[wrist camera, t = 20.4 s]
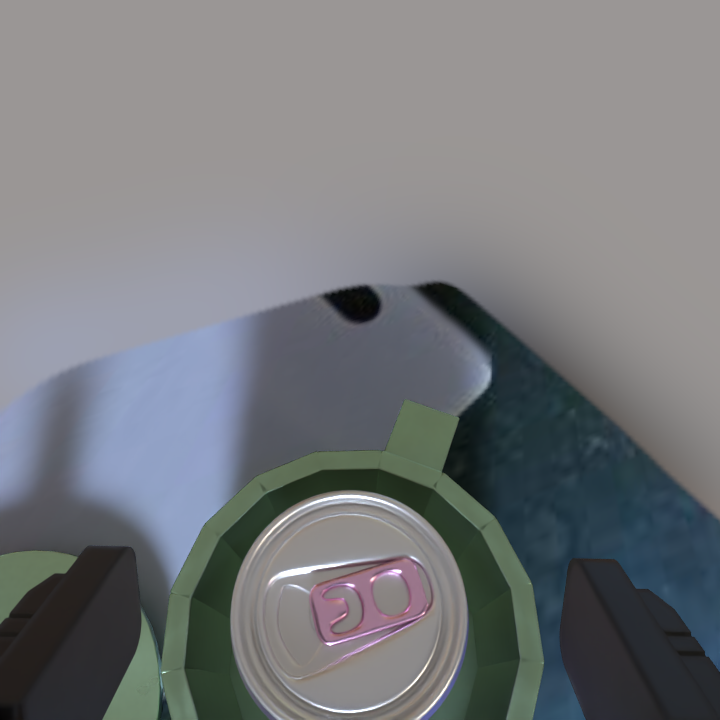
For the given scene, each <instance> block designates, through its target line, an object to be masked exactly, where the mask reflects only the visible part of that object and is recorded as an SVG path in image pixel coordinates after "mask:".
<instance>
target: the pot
mask: <svg viewBox="0 0 720 720" xmlns="http://www.w3.org/2000/svg"><path fill="white" fill-rule="evenodd" d="M458 422H459V418H458V417H456V416H453V415H450V414H447V413H444V412H441V411H438V410H435V409H433V408H430V407H427V406H424V405H421V404H418V403H415V402H412V401H410V400H407V399H405V400H404V402H403V404H402V407H401V409H400V412H399V414H398V417H397V420H396V422H395V425H394V427H393V430H392V433H391V435H390V438H389V440H388V443H387V445H386V448H385V451H381V450H354V451H319V452H317V451H316V452H313V453H311V454H308V455H306V456H303V457H301V458H299V459H296V460H294V461H291V462H289V463H287V464H284V465H282V466H279V467H277V468H274V469H272V470H270V471H267V472H265V473H262V474H260V475H257V476H256V477H254V478H253V479H252V480H251V481H250V482H249V483H248V484H247V485H246V486H245V487H244V488H243V489H241V490H240V491H239V492H238V493H237V494H236V495H235V496H234V497H233V498H232V499H231V500H230V501H229V502H228V503H226V504H225V505H224V506H223V507H222V508H221V509H220V510H219V511H218V512H217V513H216V514H215V515H214V516H213V517H212V518H210V519H209V520H208V521H207V522H206V523H205V525H204V526H203V528H202V530H201V532H200V534H199V536H198V538H197V540H196V541H195V543H194V545H193V547H192V549H191V551H190V553H189V555H188V557H187V559H186V561H185V563H184V565H183V567H182V569H181V571H180V573H179V575H178V577H177V579H176V581H175V583H174V585H173V587H172V589H171V594H170V595H169V603H168V612H167V620H166V629H165V637H164V645H163V654H162V662H161V673H162V674H161V680H162V684H163V688H164V692H165V696H166V700H167V704H168V708H169V712H170V716H171V720H270V719H269V718H268V717H267V716H266V715H265V714H264V713H263V712H262V711H261V710H260V708H259V707H258V706H257V705H256V703H255V702H254V700H253V699H252V697H251V696H250V694H249V692H248V691H247V689H246V687H245V685H244V683H243V681H242V679H241V676H240V674H239V671H238V668H237V665H236V661H235V658H234V653H233V649H232V642H231V630H230V615H231V601H232V595H233V590H234V586H235V582H236V579H237V575H238V572H239V570H240V567H241V565H242V563H243V561H244V559H245V556H246V555H247V553H248V551H249V549H250V548H251V546H252V545H253V543H254V542H255V540H256V539H257V537H258V536H259V535H260V534H261V532H262V531H263V530H264V529H265V528H266V527H267V526H268V525H269V524H270V523H271V522H272V521H273V520H274V519H275V518H276V517H278V516H279V515H280V514H281V513H283V512H284V511H286V510H287V509H288V508H290V507H292V506H294V505H295V504H297V503H299V502H301V501H303V500H305V499H308V498H310V497H313V496H316V495H319V494H323V493H327V492H333V491H341V490H359V491H367V492H373V493H377V494H381V495H384V496H387V497H390V498H392V499H395V500H397V501H399V502H401V503H403V504H405V505H406V506H408V507H410V508H411V509H413V510H414V511H416V512H417V513H418V514H420V515H421V516H422V517H423V518H424V519H426V520H427V521H428V522H429V523H430V524H431V525H432V526H433V527H434V528H435V530H436V531H437V532H438V533H439V534H440V536H441V537H442V538H443V540H444V541H445V543H446V544H447V546H448V547H449V549H450V551H451V552H452V554H453V556H454V558H455V560H456V563H457V565H458V568H459V570H460V573H461V576H462V579H463V583H464V587H465V592H466V597H467V603H468V613H469V632H468V641H467V648H466V653H465V657H464V660H463V664H462V667H461V670H460V672H459V675H458V677H457V679H456V682H455V684H454V686H453V687H452V689H451V691H450V693H449V695H448V696H447V697H446V699H445V700H444V702H443V703H442V705H441V706H440V707H439V708H438V710H437V711H436V712H435V713H434V714H433V715H432V716H431V717H430V718H429V719H428V720H532V719H533V714H534V710H535V705H536V700H537V696H538V691H539V687H540V682H541V677H542V673H543V668H544V664H543V663H544V658H543V651H542V645H541V638H540V632H539V625H538V618H537V612H536V605H535V599H534V592H533V586H532V584H531V581H530V579H529V577H528V575H527V573H526V572H525V570H524V568H523V566H522V564H521V562H520V561H519V559H518V557H517V555H516V553H515V552H514V550H513V548H512V546H511V544H510V542H509V541H508V539H507V537H506V535H505V533H504V532H503V530H502V528H501V526H500V524H499V522H498V521H497V519H495V516H493V515H492V514H491V513H490V512H489V511H488V510H486V509H485V508H484V507H483V506H482V505H481V504H480V503H478V502H477V501H476V500H475V499H474V498H473V497H471V496H470V495H469V494H468V493H467V492H466V491H465V490H463V489H462V488H461V487H460V486H459V485H458V484H456V483H455V482H454V481H453V480H452V479H451V478H450V477H448V476H447V475H446V474H445V473H442V470H443V467H444V464H445V461H446V458H447V455H448V452H449V449H450V446H451V443H452V440H453V437H454V434H455V431H456V428H457V425H458Z"/></svg>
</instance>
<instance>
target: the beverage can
mask: <svg viewBox="0 0 720 720" xmlns="http://www.w3.org/2000/svg"><path fill="white" fill-rule="evenodd" d="M230 630H231V642H232V649H233V653H234V658H235V661H236V665H237V668H238V671H239V674H240V676H241V679H242V681H243V683H244V685H245V687H246V689H247V691H248V692H249V694H250V696H251V697H252V699H253V700H254V702H255V703H256V705H257V706H258V707H259V708H260V710H261V711H262V712H263V713H264V714H265V715H266V716H267V717H268V718H269V719H270V720H428V719H429V718H430V717H431V716H432V715H433V714H434V713H435V712H436V711H437V710H438V708H439V707H440V706H441V705H442V703H443V702H444V700H445V699H446V697H447V696H448V695H449V693H450V691H451V689H452V687H453V686H454V684H455V682H456V679H457V677H458V675H459V672H460V670H461V667H462V664H463V660H464V657H465V653H466V648H467V641H468V632H469V613H468V603H467V597H466V592H465V587H464V583H463V579H462V576H461V573H460V570H459V568H458V565H457V563H456V560H455V558H454V556H453V554H452V552H451V551H450V549H449V547H448V546H447V544H446V543H445V541H444V540H443V538H442V537H441V536H440V534H439V533H438V532H437V531H436V530H435V528H434V527H433V526H432V525H431V524H430V523H429V522H428V521H427V520H426V519H424V518H423V517H422V516H421V515H420V514H418V513H417V512H416V511H414V510H413V509H411V508H410V507H408V506H406V505H405V504H403V503H401V502H399V501H397V500H395V499H392V498H390V497H387V496H384V495H381V494H377V493H373V492H367V491H359V490H341V491H333V492H327V493H323V494H319V495H316V496H313V497H310V498H308V499H305V500H303V501H301V502H299V503H297V504H295V505H294V506H292V507H290V508H288V509H287V510H286V511H284V512H283V513H281V514H280V515H279V516H278V517H276V518H275V519H274V520H273V521H272V522H271V523H270V524H269V525H268V526H267V527H266V528H265V529H264V530H263V531H262V532H261V534H260V535H259V536H258V537H257V539H256V540H255V542H254V543H253V545H252V546H251V548H250V549H249V551H248V553H247V555H246V556H245V559H244V561H243V563H242V565H241V567H240V570H239V572H238V575H237V579H236V582H235V586H234V590H233V595H232V601H231V615H230Z"/></svg>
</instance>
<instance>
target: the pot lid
mask: <svg viewBox="0 0 720 720" xmlns="http://www.w3.org/2000/svg"><path fill="white" fill-rule="evenodd" d="M77 558H78V557H77V556H74V555H71V554H66V553H61V552H56V551H41V550H32V551H21V552H13V553H8V554H4V555H0V624H1V623H2V622H3V620H4V619H5V618H8V617H9V613H10V612H11V611H12V610H13V608H14V607H15V606H16V605H17V604H18V602H19V601H20V600H21V599H22V598H23V596H24V595H25V594H26V593H27V592H28V591H29V590H31V589H32V588H34V587H35V586H37V585H38V584H40V583H41V582H42V581H44V580H45V579H47V578H48V577H50V576H51V575H53V574H54V573H66V572H67V571H68V570H69V568H70V567H71V566H72V565H73V563H74V562H75V561H76V559H77ZM140 606H141V605H140ZM141 617H142V624H141V634H140V639H139V643H138V647H137V650H136V653H135V655H134V657H133V659H132V661H131V663H130V665H129V667H128V669H127V671H126V673H125V675H124V677H123V679H122V681H121V683H120V685H119V687H118V689H117V691H116V693H115V695H114V697H113V699H112V701H111V703H110V705H109V707H108V709H107V711H106V713H105V715H104V717H103V719H102V720H160V718H161V712H162V697H163V684H162V680H161V674H162V673H161V659H160V654H159V648H158V644H157V641H156V638H155V635H154V632H153V629H152V626H151V624H150V622H149V620H148V617H147V615H146V613H145V611H144V609H143V608H142V606H141Z"/></svg>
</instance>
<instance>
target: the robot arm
mask: <svg viewBox="0 0 720 720" xmlns="http://www.w3.org/2000/svg"><path fill="white" fill-rule="evenodd" d="M141 624H142V617H141V606H140V596H139V585H138V575H137V565H136V556H135V552H134V550H133V548H132V547H129V546H88V547H86V548H85V549H84V550H83V552H82V553H81V554H80V556H79V557H78V558H77V559H76V561H75V562H74V563H73V565H72V566H71V567H70V568H69V570H68V571H67V572H66V573H54V574H53V575H51V576H50V577H48V578H47V579H45V580H44V581H42V582H41V583H40V584H38V585H37V586H35V587H34V588H32V589H31V590H29V591H28V592H27V593H26V594H25V595H24V596H23V598H22V599H21V600H20V601H19V602H18V604H17V605H16V606H15V607H14V608H13V610H12V611H11V612H10V613H9V617H8V618H5V619H4V620H3V622H2V623H1V624H0V720H102V719H103V717H104V715H105V713H106V711H107V709H108V707H109V705H110V703H111V701H112V699H113V697H114V695H115V693H116V691H117V689H118V687H119V685H120V683H121V681H122V679H123V677H124V675H125V673H126V671H127V669H128V667H129V665H130V663H131V661H132V659H133V657H134V655H135V653H136V650H137V647H138V643H139V639H140V634H141ZM560 647H561V654H562V659H563V663H564V666H565V669H566V671H567V674H568V676H569V679H570V681H571V684H572V686H573V689H574V691H575V694H576V696H577V699H578V701H579V704H580V706H581V709H582V711H583V714H584V716H585V718H586V720H720V672H719V671H718V669H717V668H716V667H715V665H714V664H713V662H712V661H711V660H710V658H709V657H706V656H705V651H704V650H703V648H702V647H701V646H700V644H699V643H698V641H697V640H696V639H695V637H692V636H691V632H690V630H689V629H688V628H687V626H686V625H685V623H684V622H683V621H682V619H681V618H680V616H679V615H678V614H677V612H676V611H675V609H674V608H672V607H671V606H670V605H668V604H667V603H666V602H664V601H663V600H662V599H661V598H659V597H658V596H657V595H655V594H654V593H653V592H651V591H650V590H649V589H636V588H635V587H634V585H633V584H632V582H631V581H630V579H629V578H628V576H627V575H626V573H625V572H624V570H623V568H622V567H621V565H620V564H619V563H618V562H617V561H616V560H614V559H578V558H573V559H572V560H571V561H570V563H569V566H568V571H567V579H566V587H565V594H564V602H563V610H562V617H561V625H560Z"/></svg>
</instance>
